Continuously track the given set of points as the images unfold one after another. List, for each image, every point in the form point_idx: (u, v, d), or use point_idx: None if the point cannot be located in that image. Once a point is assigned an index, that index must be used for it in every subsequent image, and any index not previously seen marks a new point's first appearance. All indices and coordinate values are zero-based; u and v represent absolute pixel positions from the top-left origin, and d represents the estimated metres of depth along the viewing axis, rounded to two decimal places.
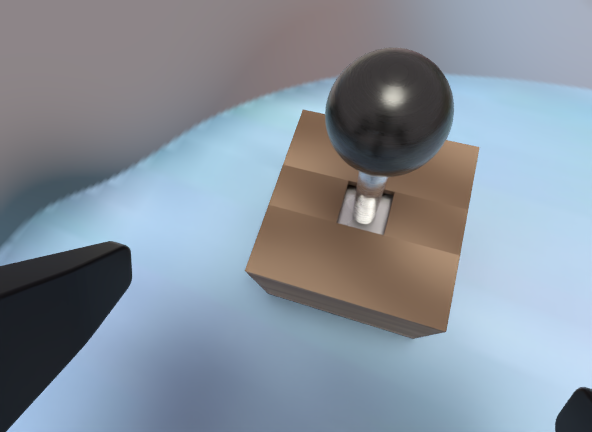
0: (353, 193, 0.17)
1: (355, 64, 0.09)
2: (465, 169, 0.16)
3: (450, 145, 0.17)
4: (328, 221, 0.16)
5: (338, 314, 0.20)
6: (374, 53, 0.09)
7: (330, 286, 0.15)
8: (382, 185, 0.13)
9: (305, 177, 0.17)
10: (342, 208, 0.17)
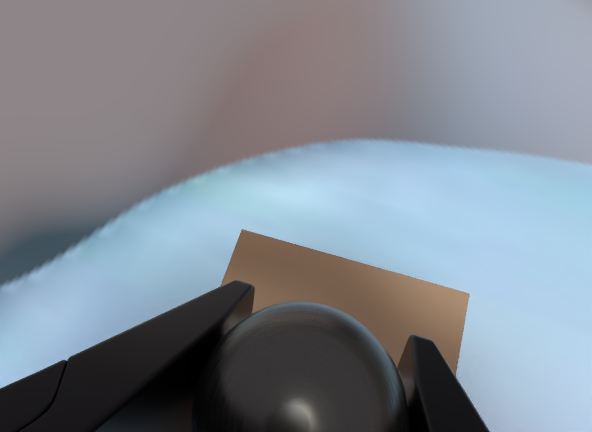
0: None
1: (227, 365, 0.05)
2: (450, 327, 0.12)
3: (431, 289, 0.12)
4: None
5: None
6: (260, 349, 0.05)
7: None
8: None
9: None
10: None
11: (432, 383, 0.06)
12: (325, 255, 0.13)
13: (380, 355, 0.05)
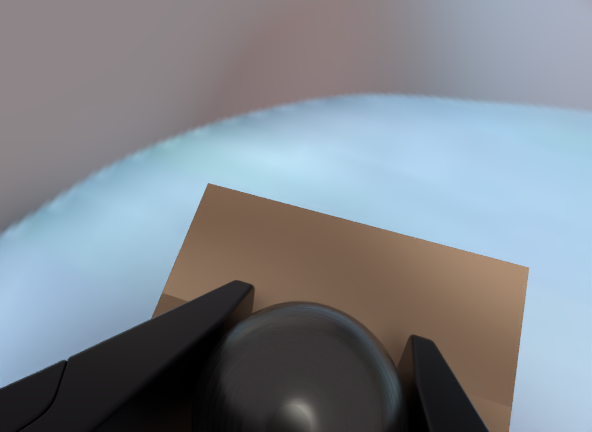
0: None
1: (227, 365, 0.05)
2: (503, 315, 0.08)
3: (473, 262, 0.09)
4: None
5: None
6: (260, 349, 0.05)
7: None
8: None
9: None
10: None
11: (432, 383, 0.06)
12: (322, 216, 0.09)
13: (380, 355, 0.05)
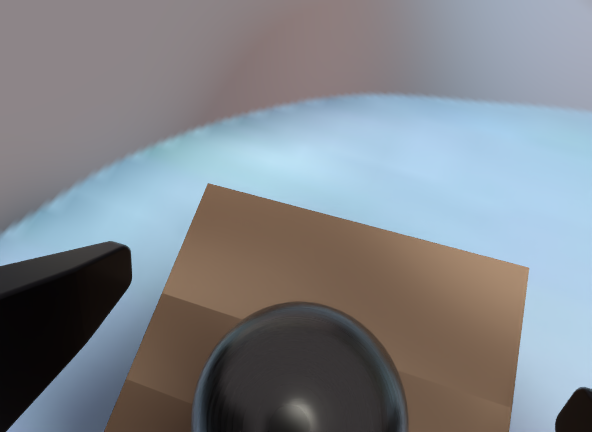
0: None
1: (227, 365, 0.05)
2: (503, 315, 0.08)
3: (473, 262, 0.09)
4: None
5: None
6: (260, 349, 0.05)
7: None
8: None
9: (200, 321, 0.09)
10: None
11: None
12: (322, 216, 0.09)
13: (380, 355, 0.05)
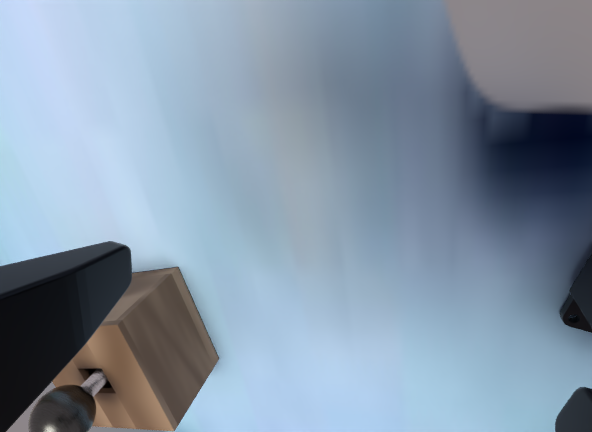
0: None
1: None
2: None
3: None
4: (119, 396, 0.23)
5: (196, 318, 0.27)
6: None
7: (146, 387, 0.22)
8: None
9: (109, 414, 0.24)
10: None
11: None
12: None
13: (30, 415, 0.20)
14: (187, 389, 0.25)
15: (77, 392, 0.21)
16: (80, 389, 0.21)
